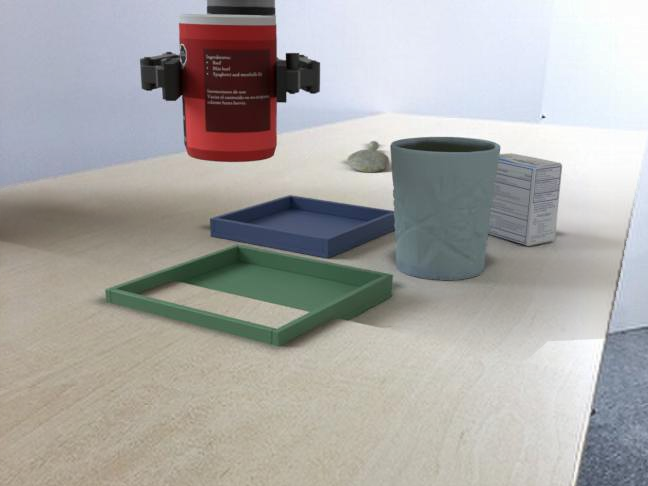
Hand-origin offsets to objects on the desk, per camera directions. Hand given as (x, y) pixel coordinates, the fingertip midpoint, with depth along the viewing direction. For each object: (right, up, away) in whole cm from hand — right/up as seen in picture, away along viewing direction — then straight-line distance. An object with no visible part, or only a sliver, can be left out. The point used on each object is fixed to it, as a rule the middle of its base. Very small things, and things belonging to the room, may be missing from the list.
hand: (225, 83), depth 65 cm
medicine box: (+28, -8, +30) cm, 42 cm away
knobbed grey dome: (+14, +10, +76) cm, 78 cm away
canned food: (0, -4, +7) cm, 8 cm away
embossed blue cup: (+18, -13, +19) cm, 29 cm away
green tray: (+1, -17, +7) cm, 18 cm away
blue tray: (+5, -8, +30) cm, 32 cm away
